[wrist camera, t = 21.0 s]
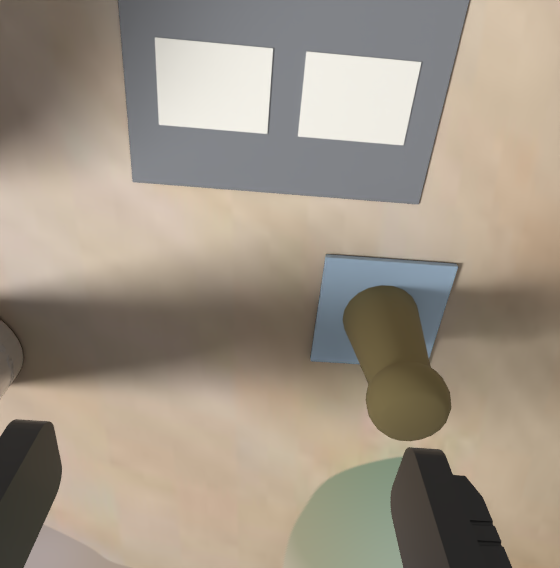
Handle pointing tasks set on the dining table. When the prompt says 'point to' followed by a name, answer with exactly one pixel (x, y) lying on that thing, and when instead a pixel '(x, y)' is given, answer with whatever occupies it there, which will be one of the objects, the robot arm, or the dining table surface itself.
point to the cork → (396, 364)
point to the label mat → (288, 93)
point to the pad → (369, 273)
